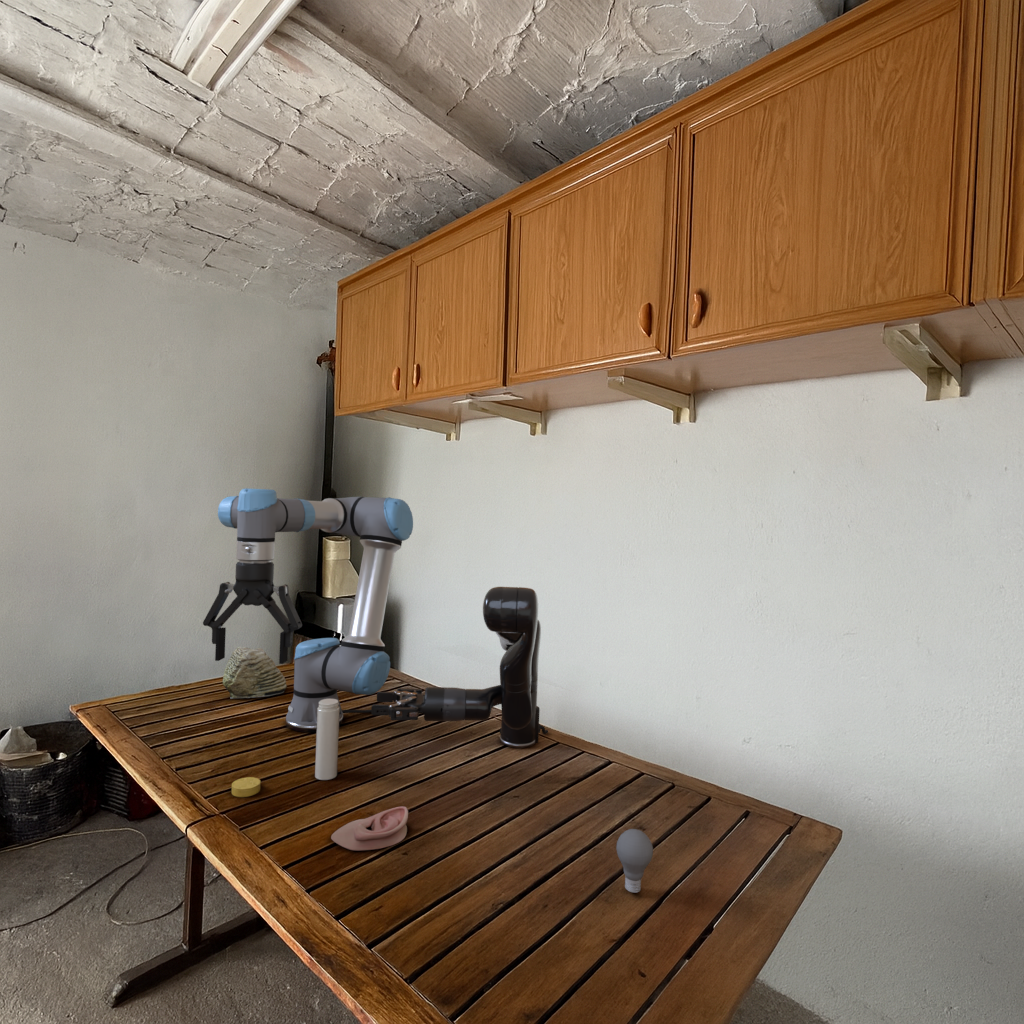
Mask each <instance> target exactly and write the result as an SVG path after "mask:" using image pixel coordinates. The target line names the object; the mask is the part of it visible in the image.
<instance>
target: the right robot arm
mask: <svg viewBox="0 0 1024 1024" xmlns="http://www.w3.org/2000/svg"><path fill="white" fill-rule="evenodd" d="M482 616H483V621H484V624H485V627H486V628H487V629H488V630H489V631H490V632H494V633H495V634H496V636H497V637H498V638H499V639H498V640H499V644H500V647H501V649H502V650H504V651H505V652H504V654H503V655H502V656H501V659H500V663H499V682H500V683H499V685H498V684H497V685H494V686H490V687H485V688H460V687H451V686H450V687H449V686H426V687H425V689H424V690H425V691H424V693H423V689H422V688H405V687H404V688H401V687H399V688H397V689H396V690H394V691H377V692H376V693H377V694H376V702H377V703H392V704H377V703H376V704H372V705H371V709H370V710H371V713H370V714H371V715H372V716H388V717H389V718H390V721H418V720H419V715H421V714H422V715H423V719H424V721H425V722H460V721H474V722H475V721H478V722H479V721H480V722H481V721H483V722H484V721H487V720H488V719H489V718H490V716H491V714H492V709H493V707H495V706H499V705H500V706H501V719H500V720H501V722H500V723H501V725H500V729H499V734H500V737H499V741H500V743H501V744H502V745H504V746H505V747H509V748H515V749H527V748H530V747H533V746H534V745H536V744H538V743H539V734H541V733H542V734H543V735H546V734H548V733H549V730H548V729H546V727H545V726H543V725H541V724H540V713H541V712H540V711H541V709H540V706H538V685H539V684H538V683H539V657H540V647H541V637H542V625H541V622H540V620H539V599H538V594H537V592H536V590H535V589H533V588H531V587H522V586H519V587H518V586H495V587H491V588H489V590H488V591H487V592H486V594H485V596H484V599H483V602H482Z"/></svg>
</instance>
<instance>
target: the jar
mask: <svg viewBox="0 0 1024 1024" xmlns="http://www.w3.org/2000/svg"><path fill="white" fill-rule="evenodd" d="M339 702H340V701H339ZM339 702H338V700H336V699H323V700H321V701H319V705H318V706H319V707H318V708H317V732H315V758H314V759H315V762H314V778H315V779H316V780H320V781H328V780H332V779H335V778H336V777H337V776H338V763H339V760H338V759H339V737H340V735H339V734H340V725H339V712H340V707H339V706H338V705H339Z"/></svg>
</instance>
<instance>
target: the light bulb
mask: <svg viewBox="0 0 1024 1024" xmlns="http://www.w3.org/2000/svg"><path fill="white" fill-rule="evenodd" d="M615 849H616V854H617V857H618V859H619V861H620V863H621V865H622V867H623V873H624V874H623V875H624V876H625V878H624V888H625V890H627V891H628V892H630V893H634V894H635V893H639V892H640V891H641V889H642V887H641V886H642V879H643V877H644V875H645V871H646V868H647V867H648V866H649V864H650V863H651V861H652V859H653V855H654V847H653V843H652V841H651V838H649V836H648V835H647V834H646V833H645V832H643V831H642V830H641V829H636V828H629V829H627V830H625V831H623V832H622V833H621V834H620V835H619V837H618V839H617V841H616V847H615Z"/></svg>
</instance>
